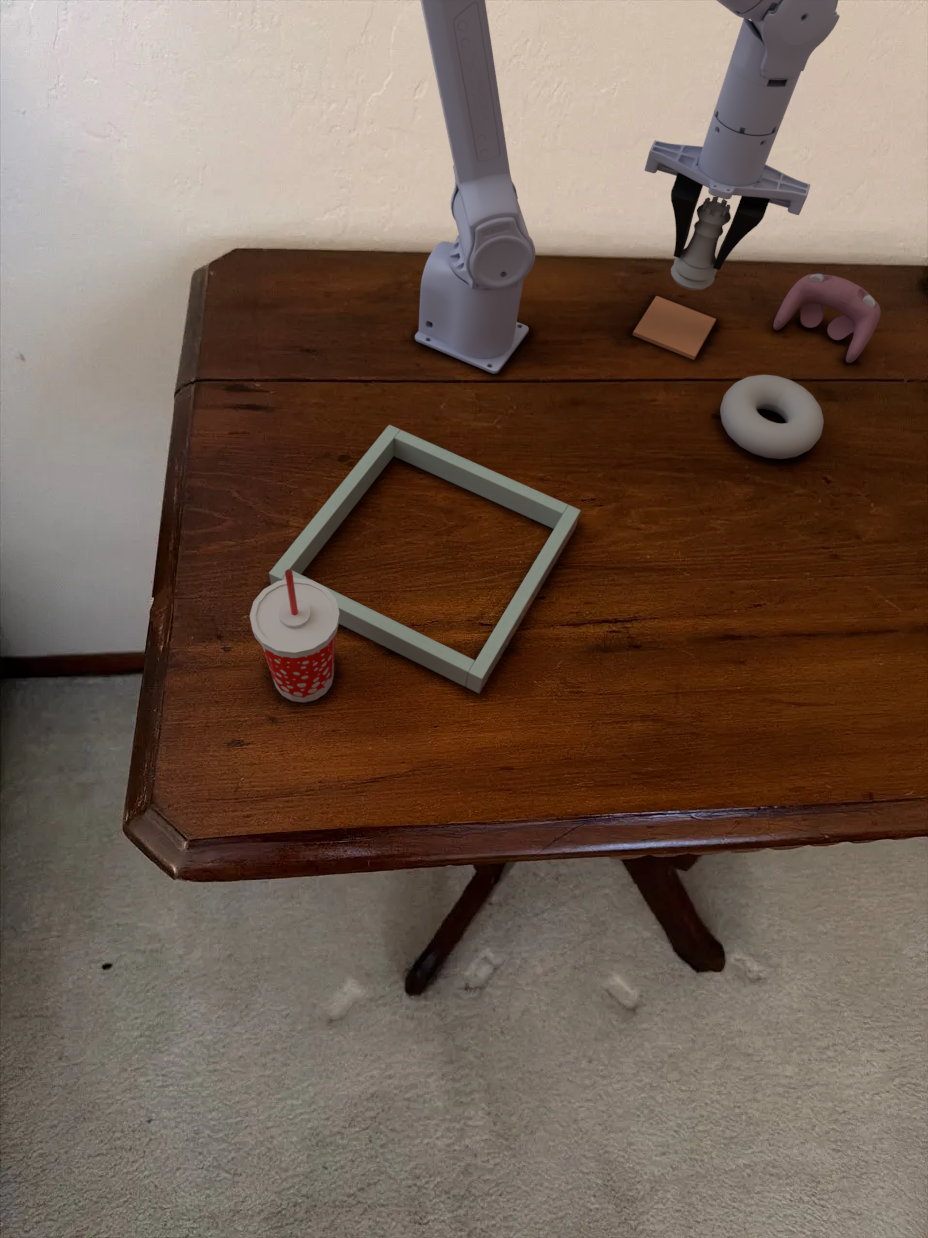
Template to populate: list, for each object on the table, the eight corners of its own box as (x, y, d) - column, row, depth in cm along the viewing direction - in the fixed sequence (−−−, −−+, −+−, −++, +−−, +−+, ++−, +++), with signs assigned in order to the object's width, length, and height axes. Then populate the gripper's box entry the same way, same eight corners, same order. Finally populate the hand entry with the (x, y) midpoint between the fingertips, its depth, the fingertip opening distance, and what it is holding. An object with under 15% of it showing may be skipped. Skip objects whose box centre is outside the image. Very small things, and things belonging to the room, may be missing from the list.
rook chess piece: (660, 270, 89) (683, 196, 82) (694, 259, 90) (720, 185, 83) (687, 297, 87) (713, 223, 80) (722, 285, 88) (750, 212, 82)
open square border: (271, 590, 72) (268, 572, 70) (388, 443, 82) (389, 423, 80) (479, 694, 69) (482, 679, 67) (575, 527, 79) (581, 509, 76)
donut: (712, 455, 85) (816, 475, 84) (723, 429, 82) (831, 450, 81) (717, 385, 90) (814, 403, 90) (728, 358, 87) (828, 377, 87)
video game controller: (856, 361, 96) (893, 298, 92) (853, 367, 93) (891, 301, 89) (773, 323, 98) (806, 260, 95) (767, 327, 95) (801, 262, 91)
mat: (632, 335, 93) (633, 331, 93) (655, 299, 97) (656, 295, 96) (693, 360, 92) (695, 356, 91) (714, 322, 95) (716, 318, 95)
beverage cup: (282, 632, 70) (263, 523, 58) (355, 655, 70) (350, 549, 58) (250, 697, 67) (223, 596, 55) (326, 721, 67) (315, 624, 55)
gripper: (654, 116, 74) (617, 258, 85) (824, 164, 72) (763, 302, 84) (673, 78, 78) (635, 219, 89) (835, 123, 76) (775, 261, 87)
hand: (698, 257), depth 87 cm, fingers closed on rook chess piece, 3 cm apart
